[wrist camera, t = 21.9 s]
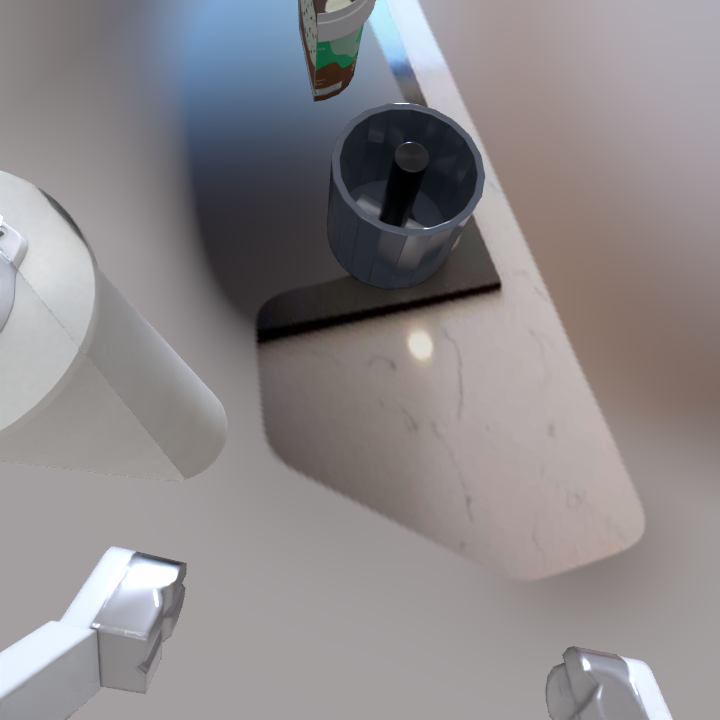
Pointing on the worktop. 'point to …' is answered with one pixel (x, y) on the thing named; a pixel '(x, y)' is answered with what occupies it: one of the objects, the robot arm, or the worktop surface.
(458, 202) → the processor bowl
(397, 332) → the worktop surface
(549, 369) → the worktop surface
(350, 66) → the food container
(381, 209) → the blade unit
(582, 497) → the worktop surface
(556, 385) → the worktop surface
